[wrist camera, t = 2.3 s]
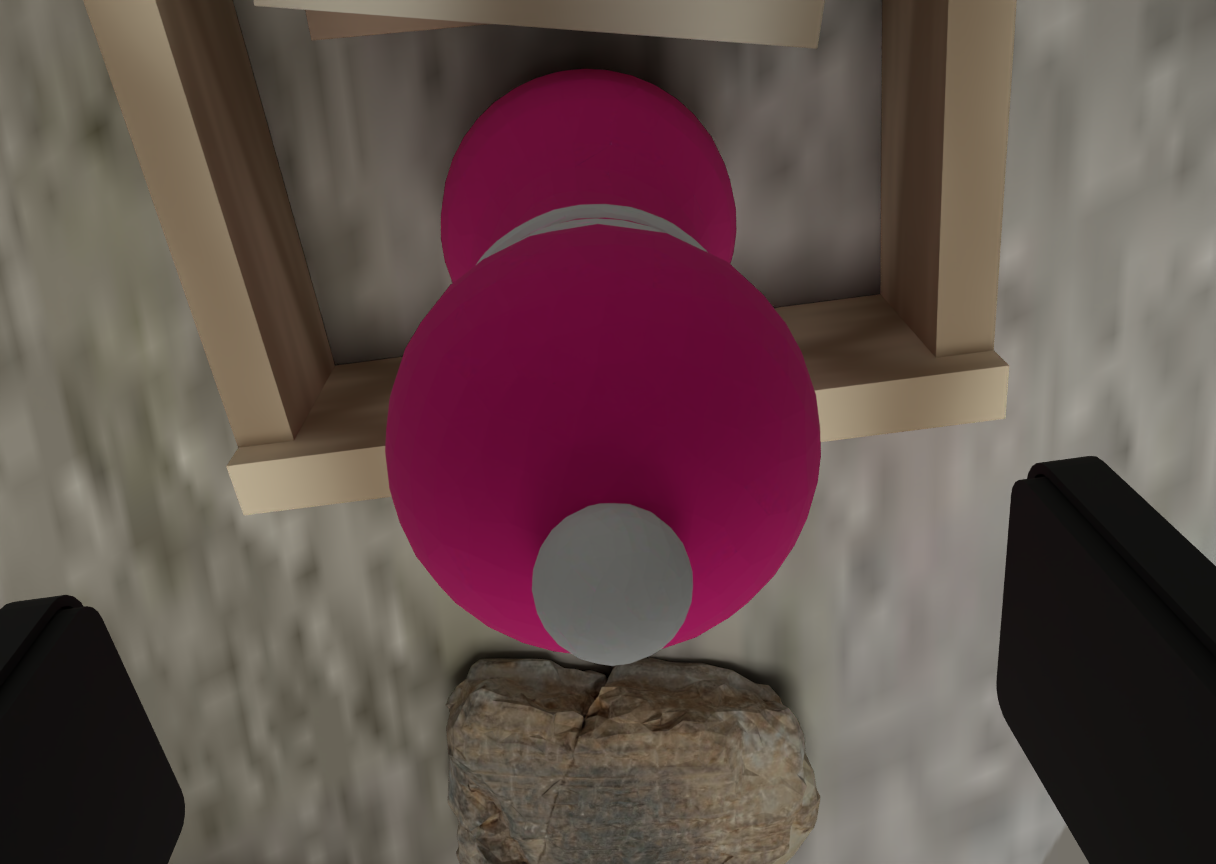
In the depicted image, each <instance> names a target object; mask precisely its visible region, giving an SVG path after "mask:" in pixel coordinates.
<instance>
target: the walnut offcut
mask: <svg viewBox="0 0 1216 864" xmlns="http://www.w3.org/2000/svg"><path fill="white" fill-rule="evenodd" d="M305 11H306V16H307V21H308V26H309V30H310V35H311V40H322V39H333V38H344V37H355V36H366V35H377V34H388V33H399V32H410V31H421V30H432V29H443V28H454V27H465V26H476V25H487V23H474V22H461V21H448V20H435V19H421V18H408V17H395V16H382V15H369V14H356V13H343V12H330V11H316V10H305Z"/></svg>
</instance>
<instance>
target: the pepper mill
mask: <svg viewBox="0 0 1216 864" xmlns="http://www.w3.org/2000/svg"><path fill="white" fill-rule="evenodd" d="M735 237H736V207H735V202H734V197H733V193H732V188H731V183H730V179H729V176H728V173H727V170H726V167H725V164H724V161H723V159H722V157H721V155H720V153H719V151H718V149H717V147H716V145H715V143H714V141H713V139H712V137H711V136H710V134H709V133H708V132H707V130H706V129H705V128H704V127H703V125H702V124H701V123H700V121H699V120H698V119H697V118H696V116H695V115H694V114H693V113H692V112H691V111H690V110H689V109H687V108H686V107H685V106H684V105H683V104H682V103H681V102H680V101H679V100H677V99H676V98H675V97H673V96H672V95H670V94H668V93H667V92H665V91H664V90H662V89H661V88H659V87H657V86H656V85H654V84H651V83H649V82H646V81H644V80H642V79H639V78H637V77H634V76H632V75H627V74H623V73H618V72H614V71H610V70H599V69H576V70H567V71H560V72H556V73H552V74H548V75H545V76H542V77H538V78H535V79H533V80H531V81H529V82H527V83H524V84H522V85H520V86H518V87H516V88H514V89H513V90H511V91H510V92H508V93H507V94H506V95H504V96H503V97H501V98H500V99H498V100H497V101H496V102H494V103H493V104H492V105H491V106H490V107H489V108H488V109H487V110H486V111H485V112H484V113H483V114H482V115H481V116H480V117H479V118H478V119H477V120H476V121H475V123H474V124H473V126H472V127H471V128H470V130H469V131H468V132H467V134H466V135H465V136H464V138H463V140H462V142H461V144H460V146H459V148H458V149H457V151H456V153H455V155H454V157H453V159H452V163H451V166H450V169H449V172H448V176H447V179H446V182H445V189H444V196H443V203H442V211H441V241H442V247H443V253H444V259H445V263H446V266H447V268H448V271H449V274H450V277H451V280H452V282H453V283H452V284H451V285H450V286H449V287H448V289H447V290H446V291H445V292H444V294H443V295H442V296H441V298H440V299H439V300H438V301H437V303H436V304H435V305H434V306H433V308H432V309H431V310H430V311H429V313H428V314H427V315H426V316H425V318H424V319H423V320H422V322H421V323H420V325H419V327H418V328H417V330H416V332H415V333H414V335H413V337H412V338H411V340H410V342H409V343H408V345H407V347H406V348H405V351H404V354H403V357H402V360H401V363H400V367H399V370H398V373H397V376H396V379H395V382H394V385H393V388H392V392H391V395H390V398H389V408H388V417H387V426H386V443H385V455H386V464H387V472H388V481H389V489H390V492H391V495H392V499H393V502H394V505H395V508H396V512H397V515H398V518H399V521H400V524H401V526H402V528H403V530H404V532H405V534H406V536H407V538H408V540H409V543H410V545H411V547H412V549H413V551H414V553H415V555H416V557H417V558H418V559H419V560H420V562H421V563H422V564H423V566H424V567H425V568H426V569H427V571H428V572H429V573H430V575H431V576H432V577H433V578H434V580H435V581H436V582H437V583H438V585H439V586H440V587H441V588H442V589H443V590H444V591H445V592H446V593H447V594H448V595H449V596H450V598H451V599H452V600H453V601H454V602H455V603H456V604H458V605H459V606H461V607H462V608H463V609H465V610H466V611H467V612H469V613H470V614H472V615H473V616H474V617H476V618H477V619H478V620H480V621H481V622H482V623H484V624H485V625H487V626H488V627H490V628H492V629H494V630H496V631H499V632H501V633H503V634H505V635H507V636H509V637H512V638H514V639H516V640H518V641H520V642H522V643H526V644H529V645H533V646H537V647H540V648H544V649H547V650H551V651H555V652H563V653H572V654H573V655H575V656H576V657H578V658H579V659H582V660H585V661H589V662H593V663H596V664H603V665H609V666H615V665H624V664H630V663H633V662H635V661H638V660H641V659H643V658H646V657H648V656H651V655H652V654H654V653H656V652H657V651H659V650H661V649H663V648H666V647H669V646H672V645H675V644H678V643H681V642H683V641H686V640H689V639H692V638H695V637H697V636H699V635H701V634H702V633H704V632H706V631H707V630H709V629H711V628H712V627H714V626H716V625H717V624H719V623H721V622H722V621H724V620H726V619H728V618H729V617H730V616H732V615H733V614H734V613H735V612H737V611H738V610H739V609H741V608H742V607H743V606H744V605H746V604H747V603H748V602H749V601H750V600H751V599H752V598H753V597H754V596H755V595H756V594H757V593H758V592H759V591H760V590H761V589H762V588H763V587H764V586H765V585H766V584H767V583H768V582H769V581H770V579H771V578H772V577H773V576H774V575H775V574H776V572H777V571H778V569H779V568H780V566H781V565H782V563H783V562H784V560H785V559H786V557H787V556H788V554H789V553H790V551H791V550H792V548H793V547H794V545H795V543H796V541H797V539H798V537H799V535H800V532H801V530H802V528H803V526H804V524H805V522H806V520H807V517H808V514H809V510H810V507H811V503H812V500H813V496H814V493H815V489H816V486H817V482H818V475H819V466H820V458H821V442H820V422H819V414H818V406H817V399H816V393H815V390H814V387H813V384H812V381H811V378H810V375H809V372H808V369H807V367H806V364H805V361H804V358H803V355H802V352H801V350H800V348H799V346H798V344H797V343H796V341H795V339H794V337H793V335H792V333H791V332H790V330H789V328H788V326H787V324H786V323H785V321H784V320H783V319H782V318H781V316H780V315H779V314H778V313H777V311H776V310H775V309H774V308H773V306H772V305H771V304H770V303H769V301H768V300H767V299H766V298H765V296H764V295H763V294H762V293H761V292H760V291H759V290H758V289H756V288H755V287H754V286H753V285H752V284H751V283H750V282H749V281H748V280H747V279H746V278H745V277H743V276H742V275H741V274H740V273H739V272H738V271H737V270H736V269H735V268H734V267H733V266H732V265H731V264H730V263H731V260H732V256H733V252H734V245H735Z"/></svg>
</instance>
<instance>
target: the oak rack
mask: <svg viewBox="0 0 1216 864" xmlns="http://www.w3.org/2000/svg"><path fill="white" fill-rule="evenodd" d="M83 1H84V4H85V7H86V10H87V13H88V16H89V18H90V21H91V24H92V27H93V30H94V33H95V36H96V39H97V41H98V44H99V47H100V50H101V53H102V56H103V59H104V62H105V65H106V67H107V70H108V73H109V76H110V79H111V82H112V85H113V88H114V91H115V93H116V96H117V99H118V102H119V105H120V108H121V111H122V114H123V116H124V119H125V122H126V125H127V128H128V131H129V134H130V137H131V140H132V142H133V145H134V148H135V151H136V154H137V157H138V160H139V163H140V165H141V168H142V171H143V174H144V177H145V180H146V183H147V186H148V189H149V191H150V194H151V197H152V200H153V203H154V206H155V209H156V212H157V214H158V217H159V220H160V223H161V226H162V229H163V232H164V235H165V238H166V240H167V243H168V246H169V249H170V252H171V255H172V258H173V261H174V264H175V266H176V269H177V272H178V275H179V278H180V281H181V284H182V287H183V289H184V292H185V295H186V298H187V301H188V304H189V307H190V310H191V313H192V315H193V318H194V321H195V324H196V327H197V330H198V333H199V336H200V338H201V341H202V344H203V347H204V350H205V353H206V356H207V359H208V362H209V364H210V367H211V370H212V373H213V376H214V379H215V382H216V385H217V388H218V390H219V393H220V396H221V399H222V402H223V405H224V408H225V411H226V413H227V416H228V419H229V422H230V425H231V428H232V431H233V434H234V437H235V439H236V442H237V445H238V449H237V451H236V452H235V454H234V455H233V457H232V458H231V460H230V461H229V463H228V465H227V466H226V467H227V469H228V472H229V475H230V478H231V481H232V483H233V486H234V489H235V492H236V495H237V497H238V500H239V503H240V506H241V509H242V511H243V514H244V515H251V514H259V513H267V512H275V511H282V510H290V509H298V508H306V507H314V506H322V505H330V504H337V503H345V502H353V501H361V500H369V499H377V498H385V497H392V495H391V492H390V489H389V481H388V472H387V464H386V455H385V443H386V426H387V417H388V408H389V398H390V395H391V392H392V388H393V385H394V382H395V379H396V376H397V373H398V370H399V367H400V363H401V360H402V357H397V358H389V359H382V360H374V361H366V362H359V363H351V364H343V365H336V366H335V364H334V360H333V357H332V353H331V349H330V346H329V342H328V339H327V335H326V332H325V328H324V324H323V321H322V317H321V314H320V310H319V307H318V303H317V300H316V296H315V292H314V289H313V285H312V282H311V278H310V275H309V271H308V268H307V264H306V260H305V257H304V253H303V250H302V246H301V243H300V239H299V235H298V232H297V228H296V225H295V221H294V218H293V214H292V211H291V207H290V203H289V200H288V196H287V193H286V189H285V186H284V182H283V178H282V175H281V171H280V168H279V164H278V161H277V157H276V154H275V150H274V146H273V143H272V139H271V136H270V132H269V129H268V125H267V122H266V118H265V114H264V111H263V107H262V104H261V100H260V97H259V93H258V89H257V86H256V82H255V79H254V75H253V72H252V68H251V65H250V61H249V57H248V54H247V50H246V47H245V43H244V40H243V36H242V32H241V29H240V25H239V22H238V18H237V15H236V11H235V8H234V4H233V0H83ZM1016 2H1017V0H882V132H881V287H880V294H878V295H870V296H863V297H855V298H847V299H840V300H832V301H824V302H817V303H809V304H802V305H794V306H786V307H779V308H774V309H775V310H776V311H777V313H778V314H779V315H780V316H781V318H782V319H783V320H784V321H785V323H786V324H787V326H788V328H789V330H790V332H791V333H792V335H793V337H794V339H795V341H796V343H797V344H798V346H799V348H800V350H801V352H802V355H803V358H804V361H805V364H806V367H807V369H808V372H809V375H810V378H811V381H812V384H813V387H814V390H815V393H816V399H817V406H818V414H819V422H820V442H825V441H833V440H841V439H849V438H857V437H864V436H872V435H880V434H888V433H896V432H904V431H912V430H920V429H927V428H935V427H943V426H951V425H959V424H967V423H975V422H982V421H990V420H998V419H1005V416H1006V402H1007V389H1008V376H1009V365H1008V364H1007V363H1006V362H1005V361H1004V360H1003V359H1002V358H1001V357H1000V356H999V355H998V354H997V353H996V352H995V351H994V336H995V321H996V306H997V290H998V275H999V260H1000V245H1001V230H1002V214H1003V199H1004V184H1005V169H1006V154H1007V138H1008V123H1009V108H1010V93H1011V78H1012V62H1013V47H1014V32H1015V17H1016Z"/></svg>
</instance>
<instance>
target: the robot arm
mask: <svg viewBox="0 0 1216 864" xmlns="http://www.w3.org/2000/svg"><path fill="white" fill-rule="evenodd" d="M997 695H998V700H999V705H1000V708H1001V711H1002V714H1003V716H1004V718H1005V720H1006V722H1007V724H1008V726H1009V727H1010V729H1011V731H1012V732H1013V734H1014V736H1015V737H1016V739H1017V741H1018V743H1019V744H1020V746H1021V748H1022V749H1023V751H1024V753H1025V754H1026V756H1027V758H1028V760H1029V761H1030V763H1031V765H1032V766H1033V768H1034V770H1035V772H1036V773H1037V775H1038V777H1039V778H1040V780H1041V782H1042V783H1043V785H1044V787H1045V789H1046V790H1047V792H1048V794H1049V795H1050V797H1051V799H1052V801H1053V802H1054V804H1055V806H1056V807H1057V809H1058V811H1059V812H1060V814H1061V816H1062V818H1063V819H1064V821H1065V823H1066V824H1067V826H1068V828H1069V830H1070V831H1071V833H1072V835H1073V836H1074V838H1075V840H1076V841H1077V843H1078V845H1079V847H1080V848H1081V850H1082V852H1083V853H1084V855H1085V857H1086V859H1087V860H1088V862H1089V864H1216V566H1215V565H1214V564H1213V563H1212V562H1211V561H1210V560H1208V559H1207V558H1206V557H1205V556H1204V555H1203V554H1202V553H1201V552H1200V551H1199V550H1198V549H1197V548H1196V547H1195V546H1193V545H1192V544H1191V543H1190V542H1189V541H1188V540H1187V539H1186V538H1185V537H1184V536H1183V535H1182V534H1181V533H1180V532H1178V531H1177V530H1176V529H1175V528H1174V527H1173V526H1172V525H1171V524H1170V523H1169V522H1168V521H1167V520H1166V519H1165V518H1164V517H1162V516H1161V515H1160V514H1159V513H1158V512H1157V511H1156V510H1155V509H1154V508H1153V507H1152V506H1151V505H1150V504H1149V503H1147V502H1146V501H1145V500H1144V499H1143V498H1142V497H1141V496H1140V495H1139V494H1138V493H1137V492H1136V491H1135V490H1134V489H1132V488H1131V487H1130V486H1129V485H1128V484H1127V483H1126V482H1125V481H1124V480H1123V479H1122V478H1121V477H1120V476H1119V475H1117V474H1116V473H1115V472H1114V471H1113V470H1112V469H1111V468H1110V467H1109V466H1108V465H1107V464H1106V463H1105V462H1104V461H1102V460H1101V459H1099V458H1098V457H1096V456H1086V457H1079V458H1071V459H1064V460H1057V461H1049V462H1042V463H1036V464H1035V465H1033V466H1032V467H1031V469H1030V471H1029V473H1028V477H1027V479H1023V480H1018V481H1017V482H1015V484H1014V486H1013V488H1012V493H1011V504H1010V517H1009V529H1008V542H1007V555H1006V567H1005V580H1004V593H1003V606H1002V618H1001V631H1000V644H999V657H998V669H997ZM184 817H185V803H184V797H183V794H182V791H181V788H180V786H179V784H178V782H177V780H176V777H175V775H174V773H173V771H172V769H171V767H170V764H169V762H168V760H167V758H166V756H165V754H164V751H163V749H162V747H161V745H160V743H159V741H158V738H157V736H156V734H155V732H154V730H153V728H152V725H151V723H150V721H149V719H148V717H147V715H146V712H145V710H144V708H143V706H142V704H141V702H140V699H139V697H138V695H137V693H136V691H135V689H134V686H133V684H132V682H131V680H130V678H129V676H128V673H127V671H126V669H125V667H124V665H123V663H122V660H121V658H120V656H119V654H118V652H117V650H116V647H115V645H114V643H113V641H112V639H111V637H110V634H109V632H108V630H107V628H106V626H105V624H104V621H103V619H102V617H101V616H100V614H99V613H98V611H96V610H95V609H94V608H93V607H88V606H86V607H84V606H83V605H82V603H81V602H80V601H79V600H77V599H76V598H75V597H73V596H69V595H62V596H54V597H47V598H39V599H32V600H25V601H17V602H12V603H9V604H6V605H5V606H4V607H3V608H1V609H0V864H168V862H169V859H170V857H171V855H172V852H173V850H174V847H175V845H176V843H177V840H178V838H179V835H180V833H181V830H182V827H183V823H184Z"/></svg>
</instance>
